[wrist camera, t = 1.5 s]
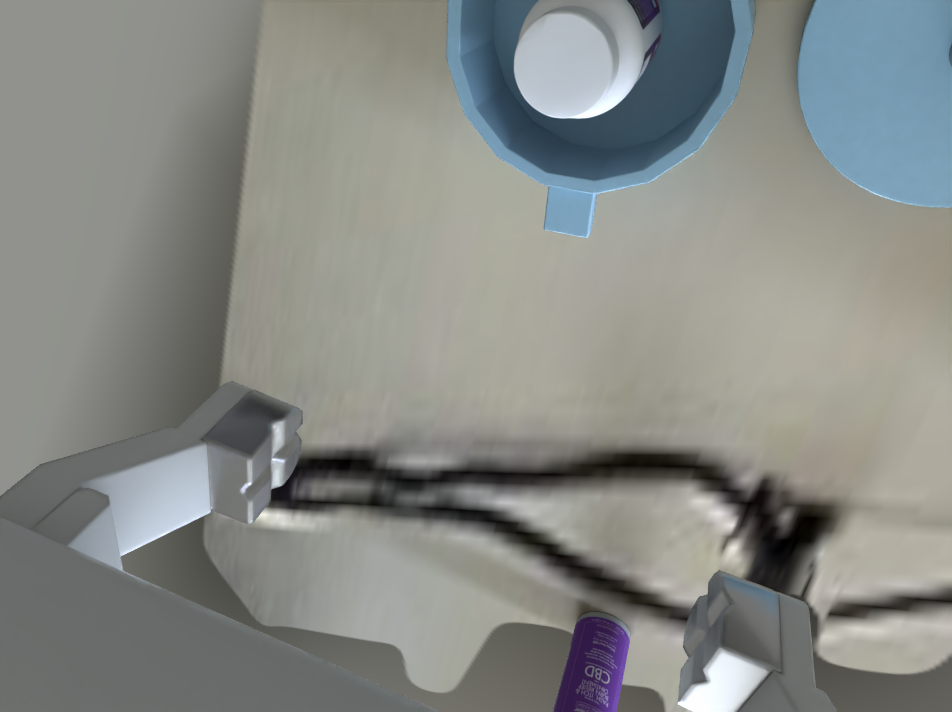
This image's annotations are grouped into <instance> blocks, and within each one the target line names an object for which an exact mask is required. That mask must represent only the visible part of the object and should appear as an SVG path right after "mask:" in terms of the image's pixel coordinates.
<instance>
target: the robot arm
mask: <svg viewBox="0 0 952 712" xmlns="http://www.w3.org/2000/svg"><path fill="white" fill-rule="evenodd" d="M302 421H303V411H302V410H300V409H299V408H297V407H295V406H292V405H290V404H288V403H285V402H283V401H280V400H278V399H276V398H273V397H271V396H268V395H266V394H264V393H261V392H259V391H256V390H253V389H250V388H248V387H246V386H243V385H241V384H238V383H236V382H234V381H231V382H228V383H225V384H224V385H223V386H221V387H220V388H219V389H218V390H217V391H216V392H215V393H214V394H213V395H212V396H211V397H210V398H208V400H206V401H205V402H204V403H203V404H202V405H201V406H200V407H199V408H198V409H197V410H195V412H193V413H192V414H191V415H190V416H189V417H188V418H187V419H186V420H185V421H184V422H183V423H181V424H180V425H179V426H178V427H177V428H176V429H172V428H170V427H167V428H164V429H160V430H157V431H153V432H150V433H146V434H143V435H140V436H136V437H132V438H129V439H126V440H122V441H119V442H115V443H112V444H108V445H105V446H101V447H98V448H95V449H91V450H88V451H84V452H81V453H78V454H74V455H71V456H67V457H64V458H60V459H57V460H53V461H50V462H46V463H43V464H40V465H39V466H37V467H36V468H35V469H34V470H32V471H31V472H30V473H29V474H27V475H26V476H25V477H24V478H22V479H21V480H20V481H19V482H17V483H16V484H15V485H14V486H12V487H11V488H10V489H9V490H7V491H6V492H5V493H4V494H3V495H1V496H0V712H440V711H438V710H436V709H434V708H431V707H429V706H427V705H425V704H422V703H420V702H418V701H415V700H413V699H411V698H409V697H407V696H404V695H402V694H400V693H397V692H395V691H393V690H391V689H388V688H386V687H384V686H382V685H379V684H377V683H375V682H373V681H370V680H368V679H366V678H364V677H361V676H359V675H357V674H355V673H352V672H350V671H348V670H345V669H343V668H341V667H339V666H337V665H334V664H332V663H330V662H328V661H325V660H323V659H321V658H319V657H316V656H314V655H312V654H309V653H307V652H305V651H303V650H300V649H298V648H296V647H294V646H291V645H289V644H287V643H285V642H282V641H280V640H278V639H275V638H273V637H271V636H269V635H267V634H264V633H262V632H260V631H258V630H255V629H253V628H251V627H248V626H246V625H244V624H242V623H240V622H237V621H235V620H233V619H231V618H228V617H226V616H224V615H221V614H219V613H217V612H215V611H212V610H210V609H208V608H206V607H203V606H201V605H199V604H196V603H194V602H192V601H190V600H188V599H185V598H183V597H181V596H178V595H176V594H174V593H172V592H170V591H167V590H165V589H163V588H160V587H158V586H156V585H154V584H151V583H149V582H147V581H145V580H142V579H140V578H138V577H136V576H133V575H131V574H128V573H127V572H124V571H123V568H122V562H121V558H120V556H122V555H124V554H126V553H128V552H130V551H132V550H134V549H136V548H138V547H140V546H142V545H144V544H147V543H149V542H151V541H153V540H155V539H157V538H159V537H161V536H163V535H165V534H167V533H169V532H171V531H173V530H175V529H177V528H179V527H182V526H184V525H185V524H188V523H190V522H192V521H194V520H196V519H198V518H200V517H202V516H204V515H206V514H208V513H210V512H211V510H213V511H215V512H218V513H220V514H223V515H226V516H228V517H231V518H233V519H236V520H239V521H241V522H244V523H246V524H249V525H252V523H253V522H254V521H255V520H256V518H257V517H258V516H259V515H260V513H261V512H262V511H263V510H264V508H265V507H266V506H267V505H268V503H269V502H270V501H271V489H273V488H276V487H279V486H281V485H283V484H284V483H285V482H286V481H287V479H288V478H289V477H290V475H291V474H292V472H293V470H294V468H295V466H296V464H297V462H298V459H299V455H300V451H301V441H302V440H301V439H300V437H299V435H298V434H297V432H296V431H297V430H298V429H299V427H300V426H301V425H302ZM683 648H684V650H685V652H686V654H687V656H688V660H687V661H686V663H685V664H684V666H683V667H682V669H681V674H680V686H679V699H678V704H679V705H681V706H683V707H686V708H688V709H690V710H692V711H695V712H837V711H836V709H835V708H834V706H833V704H832V703H831V701H830V700H829V698H828V697H827V695H826V694H825V692H824V691H822V690H819V689H817V688H816V687H815V676H814V665H813V652H812V641H811V630H810V618H809V608H808V606H807V605H806V603H805V602H803V601H800V600H797V599H795V598H792V597H789V596H787V595H784V594H781V593H779V592H774V591H773V590H771V589H769V588H766V587H763V586H761V585H758V584H755V583H753V582H750V581H747V580H745V579H742V578H739V577H736V576H734V575H731V574H728V573H726V572H723V571H720V570H719V571H717V572H716V573H715V574H714V575H713V576H712V578H711V579H710V581H709V584H708V594H707V595H704V596H700V597H699V598H698V599H697V601H696V603H695V604H694V606H693V608H692V610H691V613H690V615H689V618H688V621H687V624H686V629H685V634H684V642H683Z"/></svg>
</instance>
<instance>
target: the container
mask: <svg viewBox="0 0 952 712" xmlns="http://www.w3.org/2000/svg"><path fill="white" fill-rule="evenodd" d="M629 643H630V632H629V630H628V628H627V627H626V626H625V624H624V623H622V622H621V621H620V620H619V619H617V618H615V617H613V616H611V615H608V614H605V613H601V612H589V613H585V614H583V615H581V616H580V617H579V618H578V620H577V623H576V626H575V630H574V634H573V637H572V641H571V645H570V648H569V652H568V656H567V659H566V663H565V667H564V671H563V674H562V678H561V682H560V685H559V689H558V693H557V696H556V700H555V704H554V708H553V711H552V712H616V711H617V705H618V701H619V695H620V690H621V685H622V680H623V674H624V669H625V664H626V659H627V653H628V648H629Z"/></svg>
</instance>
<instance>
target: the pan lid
mask: <svg viewBox="0 0 952 712" xmlns="http://www.w3.org/2000/svg"><path fill="white" fill-rule="evenodd" d="M797 71H798V93H799V98H800V103H801V109H802V113H803V116H804V119H805V121H806V124H807V127H808V130H809V132H810V134H811V136H812V137H813V139H814V141H815V143H816V145H817V147H818V148H819V149H820V151H821V152H822V153H823V155H824V156H825V157H826V159H827V160H828V161H829V162H830V163H831V164H832V165H833V166H834V167H835V168H836V169H837V170H838V171H839V172H840V173H841V174H843V175H844V176H845V177H847V178H848V179H850V180H851V181H852V182H854V183H855V184H856V185H858V186H860V187H862V188H864V189H866V190H868V191H870V192H872V193H874V194H876V195H879V196H882V197H885V198H887V199H890V200H893V201H897V202H902V203H906V204H911V205H917V206H927V207H952V0H815V1H814V3H813V5H812V8H811V10H810V13H809V16H808V19H807V21H806V24H805V27H804V31H803V36H802V40H801V45H800V49H799V59H798V70H797Z"/></svg>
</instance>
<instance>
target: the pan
mask: <svg viewBox="0 0 952 712" xmlns="http://www.w3.org/2000/svg"><path fill="white" fill-rule="evenodd" d="M538 1H539V0H448V14H447V55H446V57H447V62H448V65H449V68H450V71H451V74H452V77H453V81H454V84H455V87H456V90H457V93H458V96H459V99H460V102H461V105H462V108H463V112H464V113H465V115H466V117H467V118H468V119H469V121H470V122H471V123H472V125H473V126H474V127H475V128H476V130H477V131H478V132H479V134H480V135H481V136H482V137H483V139H484V140H485V141H486V143H487V144H488V145H489V147H490V148H491V149H492V150H493V152H494V153H495V154H496V156H497V157H499V158H500V159H502V160H503V161H505V162H507V163H508V164H510V165H511V166H513V167H515V168H516V169H518V170H520V171H521V172H523V173H524V174H526V175H528V176H529V177H531V178H533V179H534V180H536V181H537V182H539V183H541V184H543V185H546V186H549V187H548V196H547V205H546V214H545V223H544V230H548V231H553V232H559V233H564V234H569V235H574V236H579V237H585V238H587V237H588V236H589V234H590V232H591V230H592V223H593V217H594V211H595V204H596V198H597V194H598V193H603V192H608V191H612V190H617V189H622V188H627V187H631V186H636V185H641V184H645V183H648V182H651V181H653V180H654V179H656V178H657V177H659V176H660V175H662V174H663V173H665V172H666V171H668V170H669V169H671V168H672V167H674V166H675V165H677V164H678V163H680V162H681V161H683V160H684V159H686V158H687V157H689V156H690V155H692V154H693V153H695V152H696V151H698V149H700V148H701V146H702V145H703V143H704V142H705V141H706V139H707V138H708V136H709V135H710V134H711V132H712V131H713V129H714V128H715V127H716V125H717V124H718V122H719V121H720V119H721V118H722V117H723V115H724V114H725V112H726V111H727V110H728V108H729V107H730V105H731V104H732V103H733V101H734V100H735V98H736V96H737V93H738V89H739V85H740V81H741V77H742V73H743V69H744V66H745V62H746V58H747V54H748V50H749V46H750V42H751V38H752V34H753V30H754V23H755V17H756V7H755V0H659V3H660V6H661V10H662V16H663V29H662V35H661V40H660V43H659V46H658V49H657V51H656V53H655V55H654V57H653V59H652V60H651V62H650V63H649V65H648V66H647V68H646V69H645V71H644V72H643V74H642V75H641V77H640V78H639V80H638V81H637V82H636V84H635V85H634V86H633V88H632V90H631V91H630V92H629V93H628V94H627V96H626V97H625V98H624V99H623V100H622V101H621V102H619V103H618V104H617V105H616V106H614V107H613V108H611V109H610V110H608V111H606V112H604V113H602V114H600V115H597V116H594V117H589V118H554V117H550V116H547V115H545V114H543V113H541V112H539V111H537V110H536V109H534V108H533V107H532V106H531V105H530V104H529V103H528V102H527V101H526V100H525V98H524V97H523V95H522V94H521V92H520V90H519V88H518V85H517V82H516V79H515V74H514V55H515V50H516V47H517V44H518V40H519V35H520V31H521V28H522V26H523V23H524V21H525V19H526V17H527V15H528V14H529V12H530V10H531V9H532V8H533V6H534V5H535V4H536V3H537V2H538Z"/></svg>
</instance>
